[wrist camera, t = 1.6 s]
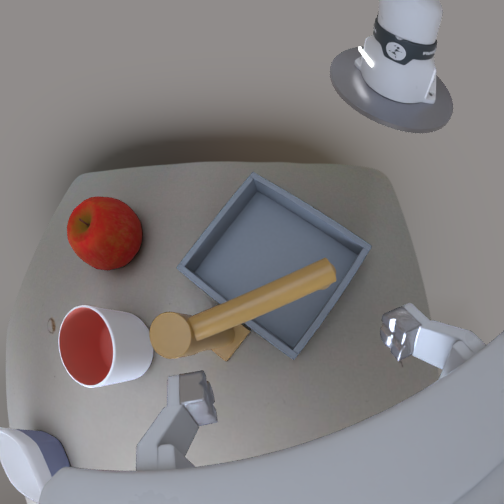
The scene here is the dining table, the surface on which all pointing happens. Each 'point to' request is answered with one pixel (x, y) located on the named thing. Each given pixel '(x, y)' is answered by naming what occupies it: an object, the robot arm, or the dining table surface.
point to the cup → (104, 346)
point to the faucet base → (226, 341)
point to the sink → (273, 258)
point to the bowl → (30, 459)
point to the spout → (235, 311)
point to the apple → (104, 232)
